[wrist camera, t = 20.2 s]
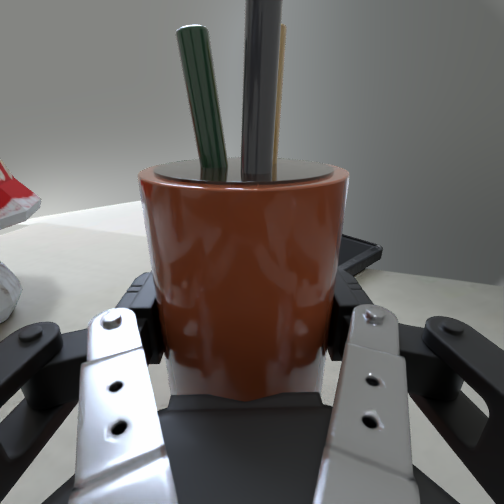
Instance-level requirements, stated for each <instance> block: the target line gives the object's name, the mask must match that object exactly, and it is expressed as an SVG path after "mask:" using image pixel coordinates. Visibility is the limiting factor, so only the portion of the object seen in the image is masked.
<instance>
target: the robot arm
mask: <svg viewBox="0 0 504 504" xmlns="http://www.w3.org/2000/svg"><path fill="white" fill-rule="evenodd" d="M327 350H328V352H329V355H330V358H331V360H332V361H342V364H341V369H340V374H339V379H338V384H337V389H336V394H335V399H334V404H333V407H332V406H328V405H324V404H322V400H321V397H320V393H319V392H283V393H279V394H275V395H271V396H267V397H263V398H259V399H256V400H252V401H246V402H244V401H238V400H234V399H229V398H224V397H219V396H214V395H210V394H192V395H171V398H170V401H169V405H168V408H165V409H162V410H159V411H157V408H156V404H155V399H154V395H153V390H152V386H151V381H150V377H149V372H148V365H149V364H160V362H161V359H162V356H163V353H164V347H163V341H162V334H161V327H160V321H159V314H158V308H157V301H156V294H155V288H154V281H153V275H152V270H151V272H150V273H143V274H142V275H140V276H139V277H137V278H136V279H135V280H134V281H133V283H132V284H131V287H129V289H128V290H127V293H125V294H124V296H123V297H122V299H121V300H120V301H119V303H118V304H117V306H116V307H115V308H114V309H110V310H106V311H104V312H101V313H99V314H98V315H96V316H95V317H93V318H92V319H91V320H90V322H89V323H88V328H87V329H83V330H78V331H74V332H69V333H64V334H61V332H60V329H59V326H58V325H57V324H56V323H53V322H39V323H34V324H31V325H28V326H25V327H23V328H21V329H19V330H17V331H15V332H13V333H12V334H10V335H9V336H8V337H6V338H5V339H4V340H2V341H1V342H0V408H1V407H2V406H3V405H4V404H5V403H6V402H7V401H8V400H9V399H10V398H11V397H12V396H13V395H14V394H15V393H16V392H17V391H18V390H19V389H20V388H21V389H22V392H23V394H24V396H25V398H24V399H23V400H22V401H21V402H20V403H19V404H18V405H17V406H16V407H15V408H14V410H13V411H12V412H11V413H10V414H9V415H8V416H7V417H6V418H5V419H4V420H3V421H2V422H1V423H0V503H1V501H2V500H3V499H4V497H5V496H6V495H7V494H8V492H9V491H10V490H11V488H12V487H13V486H14V485H15V483H16V482H17V481H18V479H19V478H20V477H21V476H22V474H23V473H24V472H25V470H26V469H27V468H28V467H29V465H30V464H31V463H32V461H33V460H34V459H35V457H36V456H37V455H38V454H39V452H40V451H41V450H42V448H43V447H44V446H45V445H46V443H47V442H48V441H49V439H50V438H51V437H52V436H53V434H54V433H55V432H56V430H57V429H58V428H59V427H60V425H61V424H62V423H63V421H64V420H65V419H66V417H67V416H68V415H69V414H70V412H71V411H72V410H73V408H74V407H75V406H76V404H77V403H78V401H79V408H78V427H77V447H76V467H75V474H74V475H73V476H72V477H71V478H70V479H69V480H68V481H66V482H65V483H64V484H63V485H62V486H61V487H60V488H58V489H57V490H56V491H55V492H54V493H53V494H52V495H51V496H49V497H48V498H47V499H46V500H45V501H44V502H43V503H41V504H460V503H459V502H457V501H456V500H455V499H454V498H453V497H451V496H450V495H449V494H448V493H447V492H445V491H444V490H443V489H442V488H441V487H440V486H438V485H437V484H436V483H435V482H434V481H432V480H431V479H430V478H429V477H428V476H426V475H425V474H424V473H423V472H422V471H420V470H419V469H418V468H417V467H416V466H414V465H413V464H412V452H411V437H410V422H409V407H408V393H409V395H410V397H411V398H412V400H413V401H414V402H415V403H416V405H417V406H418V407H419V408H420V410H421V411H422V412H423V413H424V415H425V416H426V417H427V418H428V420H429V421H430V422H431V423H432V425H433V426H434V427H435V428H436V430H437V431H438V432H439V433H440V435H441V436H442V437H443V438H444V440H445V441H446V442H447V443H448V445H449V446H450V447H451V448H452V450H453V451H454V452H455V453H456V455H457V456H458V457H459V458H460V460H461V461H462V462H463V463H464V465H465V466H466V467H467V468H468V470H469V471H470V472H471V473H472V475H473V476H474V477H475V478H476V480H477V481H478V482H479V483H480V485H481V486H482V487H483V488H484V490H485V491H486V492H487V493H488V495H489V496H490V497H491V498H492V500H493V501H494V502H495V503H496V504H504V351H503V350H502V349H501V348H499V347H498V346H496V345H495V344H494V343H492V342H491V341H490V340H488V339H487V338H485V337H484V336H483V335H481V334H480V333H479V332H477V331H476V330H475V329H473V328H472V327H470V326H469V325H467V324H465V323H463V322H461V321H459V320H456V319H453V318H449V317H443V316H434V317H431V318H429V319H427V321H426V324H425V327H424V328H421V327H415V326H410V325H404V324H400V323H398V319H397V317H396V316H395V314H393V313H392V312H391V311H389V310H388V309H386V308H383V307H381V306H377V305H374V304H373V303H372V301H371V300H370V298H369V297H368V296H367V294H366V293H365V292H364V290H362V287H361V286H360V285H359V284H358V282H357V280H356V279H355V278H354V276H352V275H351V274H349V273H348V272H346V271H344V270H343V271H339V270H338V268H337V275H336V283H335V291H334V298H333V306H332V314H331V322H330V329H329V337H328V345H327ZM464 381H465V382H466V383H467V384H468V385H469V386H470V387H472V388H473V389H474V390H475V391H476V392H477V393H478V394H479V395H480V396H481V397H482V398H483V399H484V401H485V402H486V404H487V406H488V409H489V418H488V417H487V416H486V415H485V414H484V413H483V412H482V411H481V410H480V409H479V408H478V407H477V406H476V405H475V404H474V403H473V402H472V401H471V400H470V399H469V398H468V397H467V396H466V395H465V394H464V393H463V392H462V391H461V387H462V384H463V382H464Z"/></svg>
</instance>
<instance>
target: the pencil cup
mask: <svg viewBox="0 0 504 504" xmlns="http://www.w3.org/2000/svg"><path fill="white" fill-rule="evenodd" d="M281 17H282V0H246V3H245V34H244V35H245V36H244V37H245V38H244V69H243V71H244V72H243V103H242V136H241V157H235V158H227V153H226V146H225V139H224V132H223V126H222V119H221V112H220V105H219V98H218V91H217V85H216V78H215V72H214V64H213V58H212V52H211V44H210V37H209V31H208V29H207V28H206V27H204V26H201V25H191V26H190V25H189V26H185V27H182V28H180V29H178V30H177V31H176V39H177V44H178V50H179V55H180V61H181V66H182V71H183V77H184V82H185V87H186V93H187V98H188V103H189V109H190V114H191V119H192V124H193V130H194V135H195V141H196V146H197V151H198V157H199V159H195V160H186V161H177V162H172V163H167V164H161V165H156V166H153V167H149V168H146V169H144V170H142V171H140V172H139V173H138V182H139V188H140V195H141V202H142V208H143V215H144V222H145V228H146V235H147V242H148V248H149V255H150V261H151V268H152V275H153V281H154V288H155V294H156V301H157V308H158V314H159V321H160V327H161V334H162V341H163V347H164V354H165V360H166V367H167V374H168V380H169V387H170V393H171V395H192V394H210V395H214V396H219V397H224V398H229V399H234V400H238V401H244V402H246V401H252V400H256V399H259V398H263V397H267V396H271V395H275V394H279V393H283V392H319V393H320V397H321V391H322V383H323V375H324V368H325V360H326V352H327V345H328V337H329V329H330V322H331V314H332V306H333V298H334V291H335V283H336V275H337V268H338V260H339V252H340V244H341V237H342V229H343V221H344V214H345V205H346V198H347V191H348V183H349V172H348V171H346V170H345V169H343V168H340V167H337V166H333V165H328V164H323V163H318V162H312V161H304V160H296V159H282V158H277V157H278V142H279V128H280V114H281V100H282V85H283V70H284V57H285V43H286V25H284V24H281Z"/></svg>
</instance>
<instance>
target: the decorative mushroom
mask: <svg viewBox="0 0 504 504" xmlns="http://www.w3.org/2000/svg"><path fill="white" fill-rule="evenodd" d="M40 204H41V198H40V197H38V196H37V195H36V194H35V193H33V192H32V191H31V190H29V189H28V188H27V187H25V186H24V185H23V184H21V183H20V182H19V181H18V180H16V179H15V178H14V177H13V175H12V174H11V173H10V171H9V170H8V169H7V167H6V166H5V164H4V163H3V161H2V160H1V159H0V230H1V229H4V228H6V227H9V226H12V225H15V224H18V223H21V222H23V221H26V220H27V219H28V218H29V217H30V216H31V215H32V214H34V213H35V212H36V211H37V210H38V209H39V208H40ZM21 292H22V287H21V284H20V282H19V280H18V279H17V278H16V276H15V275H14V274H13V273H12V272H11V271H10V270H9V269H8V268H7V267H6V266H5V265H4V264H3V263H2V262H1V261H0V323H2V322H3V321H5V320H6V319H8V317H9V316H10V314H11V313H12V311H13V309H14V308H15V306H16V304H17V301H18V299H19V297H20V295H21Z"/></svg>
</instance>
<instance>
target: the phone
mask: <svg viewBox="0 0 504 504" xmlns="http://www.w3.org/2000/svg"><path fill="white" fill-rule="evenodd" d="M382 250H383V248H382V247H381V246H380V245H377V244H374V243H370V242H367V241H364V240H361V239H357V238H353V237H350V236H347V235H344V234H342V237H341V244H340V252H339V260H338V270H339V271H343V270H344V271H346V272H348V273H349V274H351V275H352V276H353V275H355V274H356V273H358V272H360V271H361V270H363V269H365V268H366V267H368V266H369V265H371V264H373V263H374V262H376V261H378V260H379V259H380V258H381V255H382Z"/></svg>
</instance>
